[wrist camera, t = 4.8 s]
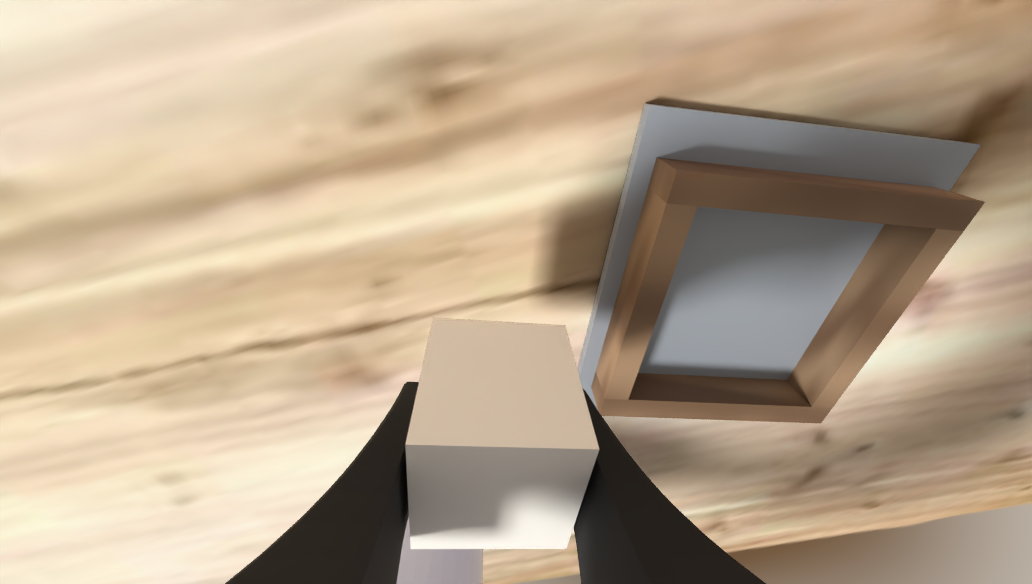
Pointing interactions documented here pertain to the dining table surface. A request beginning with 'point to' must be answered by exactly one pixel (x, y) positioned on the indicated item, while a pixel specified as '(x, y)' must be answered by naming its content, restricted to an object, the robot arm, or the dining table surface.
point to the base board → (754, 241)
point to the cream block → (497, 438)
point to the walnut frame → (844, 333)
